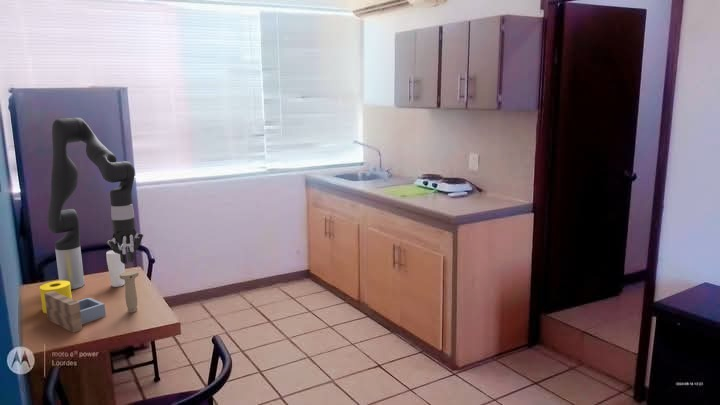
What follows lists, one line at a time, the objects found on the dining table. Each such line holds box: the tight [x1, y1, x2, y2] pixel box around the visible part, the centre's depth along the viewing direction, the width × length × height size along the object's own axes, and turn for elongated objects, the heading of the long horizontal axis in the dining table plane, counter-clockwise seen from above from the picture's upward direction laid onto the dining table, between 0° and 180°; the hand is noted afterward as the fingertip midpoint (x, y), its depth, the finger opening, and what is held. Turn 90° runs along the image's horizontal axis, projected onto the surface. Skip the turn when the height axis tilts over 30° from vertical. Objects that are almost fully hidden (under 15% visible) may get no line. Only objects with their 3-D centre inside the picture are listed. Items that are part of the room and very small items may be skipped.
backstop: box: [44, 291, 83, 334], centre depth 184 cm, size 19×3×10 cm, turn 54°
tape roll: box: [39, 280, 73, 314], centre depth 198 cm, size 10×10×9 cm
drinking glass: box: [105, 249, 126, 288], centre depth 222 cm, size 7×7×15 cm
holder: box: [76, 297, 107, 325], centre depth 191 cm, size 11×11×5 cm
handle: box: [120, 270, 139, 313], centre depth 195 cm, size 5×6×15 cm
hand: (127, 262), depth 192 cm, fingers closed
